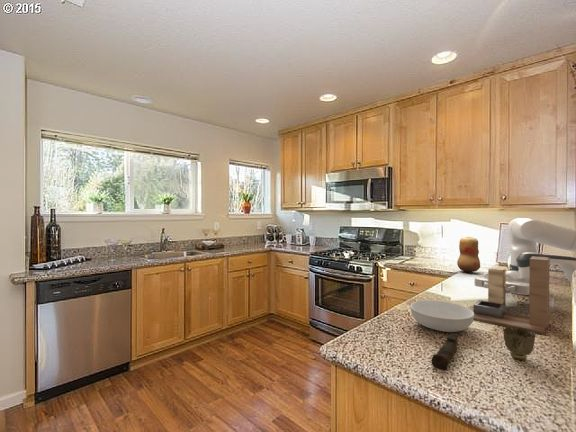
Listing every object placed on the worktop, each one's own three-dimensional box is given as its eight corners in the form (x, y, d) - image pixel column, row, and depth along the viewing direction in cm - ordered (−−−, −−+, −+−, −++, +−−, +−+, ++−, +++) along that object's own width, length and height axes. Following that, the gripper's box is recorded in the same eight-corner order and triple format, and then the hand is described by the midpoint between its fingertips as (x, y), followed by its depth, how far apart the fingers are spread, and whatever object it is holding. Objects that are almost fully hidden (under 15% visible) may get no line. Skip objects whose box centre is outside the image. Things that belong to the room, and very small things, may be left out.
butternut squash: (456, 273, 210) (456, 237, 210) (457, 269, 221) (457, 235, 221) (480, 275, 203) (480, 238, 202) (480, 271, 214) (480, 236, 214)
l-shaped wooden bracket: (470, 308, 132) (471, 251, 132) (549, 323, 114) (549, 257, 114) (460, 317, 121) (460, 254, 121) (545, 335, 103) (546, 262, 103)
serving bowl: (398, 323, 114) (398, 305, 114) (432, 314, 125) (432, 297, 125) (452, 344, 96) (452, 322, 96) (486, 330, 107) (486, 311, 107)
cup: (496, 352, 90) (496, 326, 90) (519, 351, 91) (519, 325, 91) (517, 365, 83) (517, 336, 83) (542, 364, 83) (542, 335, 83)
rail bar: (491, 308, 132) (492, 267, 132) (505, 310, 129) (505, 268, 128) (488, 310, 129) (488, 268, 129) (502, 313, 125) (502, 270, 125)
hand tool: (447, 373, 79) (447, 355, 79) (431, 367, 82) (431, 350, 82) (465, 349, 93) (465, 334, 93) (450, 345, 96) (451, 330, 96)
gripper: (534, 294, 129) (526, 300, 120) (480, 285, 145) (470, 290, 136) (534, 279, 129) (527, 284, 120) (480, 272, 145) (470, 276, 136)
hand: (496, 287), depth 128 cm, fingers open, 6 cm apart
